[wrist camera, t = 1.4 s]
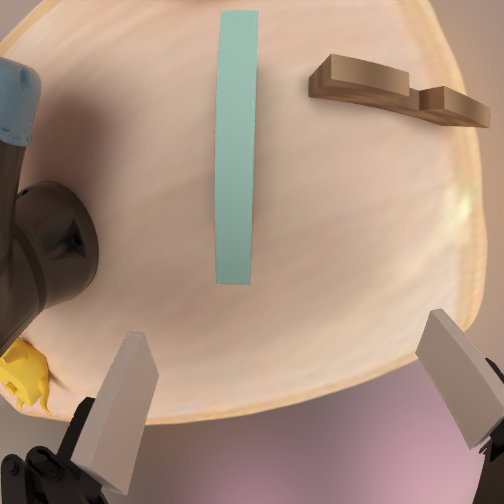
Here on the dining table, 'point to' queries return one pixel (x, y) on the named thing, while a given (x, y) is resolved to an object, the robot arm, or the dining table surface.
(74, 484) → the robot arm
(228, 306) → the dining table surface
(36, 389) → the yellow lumpy piece
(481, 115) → the walnut plate
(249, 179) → the sage plate
